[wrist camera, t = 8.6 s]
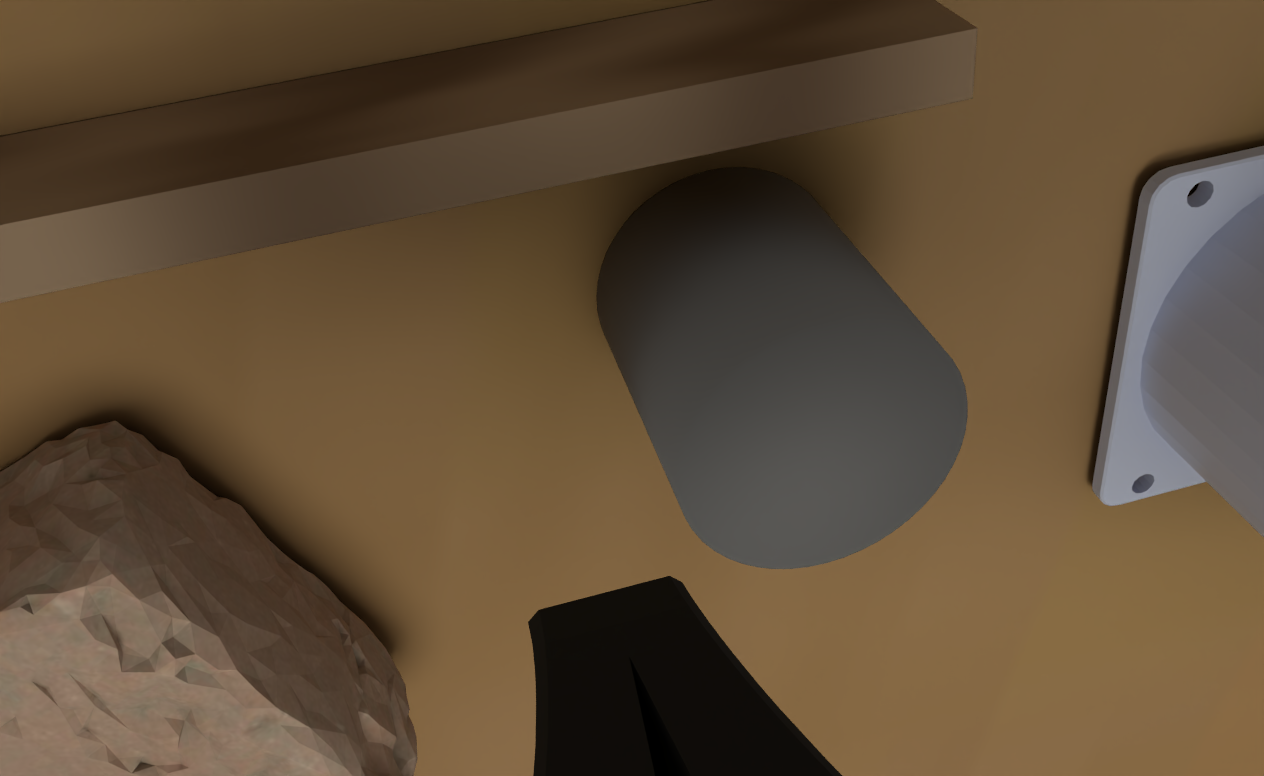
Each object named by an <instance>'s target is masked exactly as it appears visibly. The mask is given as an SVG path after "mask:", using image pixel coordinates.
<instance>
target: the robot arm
mask: <svg viewBox="0 0 1264 776" xmlns="http://www.w3.org/2000/svg"><path fill="white" fill-rule="evenodd" d="M1198 183H1199V185H1198V188H1197V190H1196V191H1195V192H1194V193H1193V194H1192V195H1190V196H1188V194H1189V192H1190V190H1191V189H1192V188H1193V187H1194V186H1195V185H1196V184H1198ZM1187 196H1188V197H1187ZM1203 482H1207V483H1208V484H1209V485H1210V486H1211V487H1213V488H1214V489H1215V490H1216V491H1217V492H1218V493H1219V494H1220V495H1221V496H1222V497H1223V498H1224V499H1225V500H1226V501H1227V502H1228V503H1229V504H1230V505H1231V506H1232V507H1233V508H1234V509H1235V510H1236V511H1237V512H1238V513H1239V514H1240V515H1241V516H1242V517H1243V518H1244V519H1245V520H1246V521H1247V522H1248V523H1249V524H1250V525H1251V526H1252V527H1253V528H1254V529H1255V530H1256V531H1257V532H1258V533H1259V534H1261V535H1262V536H1263V537H1264V146H1260V147H1256V148H1251V149H1247V150H1242V151H1238V152H1233V153H1229V154H1224V155H1220V156H1216V157H1211V158H1207V159H1202V160H1198V161H1193V162H1189V163H1184V164H1180V165H1175V166H1171V167H1167V168H1165V169H1163V170H1160V171H1158V172H1157V173H1156V174H1154V175H1153V176H1152V177H1151V178H1150V179H1149V180H1148V181H1147V183H1146V184H1145V185H1144V187H1143V189H1142V192H1141V195H1140V197H1139V203H1138V210H1137V216H1136V222H1135V228H1134V234H1133V240H1132V246H1131V252H1130V258H1129V264H1128V270H1127V276H1126V283H1125V289H1124V295H1123V301H1122V307H1121V313H1120V319H1119V325H1118V331H1117V337H1116V343H1115V350H1114V356H1113V362H1112V368H1111V374H1110V380H1109V386H1108V392H1107V398H1106V404H1105V410H1104V417H1103V423H1102V429H1101V435H1100V441H1099V447H1098V453H1097V459H1096V465H1095V471H1094V477H1093V484H1092V487H1093V492H1094V493H1095V494H1096V495H1097V497H1098V498H1099V499H1100V500H1101V501H1102V502H1103V503H1104V504H1106V505H1109V506H1113V505H1120V504H1124V503H1128V502H1132V501H1135V500H1139V499H1143V498H1147V497H1150V496H1154V495H1158V494H1162V493H1165V492H1169V491H1173V490H1177V489H1180V488H1184V487H1188V486H1192V485H1195V484H1199V483H1203ZM528 623H529V629H530V634H531V639H532V644H533V653H534V664H535V677H536V747H535V762H534V775H533V776H842V775H841V774H840V773H839V772H838V771H837V770H836V769H835V768H834V767H833V766H832V765H831V764H830V763H829V762H828V761H827V760H826V759H825V757H824V756H823V755H822V754H821V753H820V752H819V751H818V750H817V749H816V748H815V747H814V746H813V744H812V743H811V742H810V741H809V740H808V739H807V738H806V737H805V736H804V735H803V734H802V732H801V731H800V730H799V729H798V728H797V727H796V726H795V725H794V724H793V723H792V722H791V721H790V719H789V718H788V717H787V716H786V715H785V714H784V713H783V712H782V711H781V710H780V709H779V707H778V706H777V705H776V704H775V703H774V702H773V701H772V699H771V698H770V697H769V696H768V695H767V694H766V693H765V691H764V690H763V689H762V688H761V687H760V686H759V684H758V683H757V682H756V681H755V680H754V678H753V677H752V676H751V675H750V673H749V672H748V671H747V670H746V669H745V667H744V666H743V665H742V664H741V663H740V661H739V660H738V659H737V658H736V656H735V655H734V654H733V653H732V651H731V650H730V649H729V648H728V646H727V645H726V644H725V642H724V641H723V640H722V639H721V637H720V636H719V635H718V633H717V632H716V631H715V629H714V628H713V627H712V625H711V624H710V623H709V621H708V620H707V619H706V617H705V616H704V614H703V613H702V612H701V610H700V609H699V607H698V606H697V604H696V603H695V602H694V600H693V599H692V597H691V596H690V594H689V592H688V591H687V589H686V588H685V586H684V584H683V583H682V582H681V581H679V580H677V579H675V578H673V577H671V576H667V577H663V578H659V579H656V580H652V581H648V582H644V583H640V584H636V585H633V586H629V587H625V588H621V589H617V590H613V591H610V592H606V593H602V594H598V595H594V596H590V597H587V598H583V599H579V600H575V601H571V602H567V603H564V604H560V605H556V606H552V607H548V608H544V609H541V610H538V611H537V613H536V614H535V615H534V616H533V617H532V618H531V620H530V621H529V622H528Z"/></svg>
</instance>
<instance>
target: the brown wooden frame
mask: <svg viewBox="0 0 1264 776" xmlns="http://www.w3.org/2000/svg"><path fill="white" fill-rule="evenodd" d="M976 42H977V28H976V27H975V26H973V25H972V24H970V23H969V22H967V21H966V20H964V19H963V18H961V17H960V16H958V15H957V14H955V13H954V12H952V11H950V10H949V9H947V8H946V7H944V6H943V5H941V4H940V3H938V2H937V1H935V0H711V1H706V2H701V3H696V4H691V5H685V6H680V7H675V8H670V9H664V10H659V11H654V12H649V13H644V14H638V15H633V16H628V17H623V18H617V19H612V20H607V21H602V22H597V23H591V24H586V25H581V26H576V27H571V28H565V29H560V30H555V31H550V32H544V33H539V34H534V35H529V36H524V37H518V38H513V39H508V40H503V41H497V42H492V43H487V44H482V45H477V46H471V47H466V48H461V49H456V50H450V51H445V52H440V53H435V54H430V55H424V56H419V57H414V58H409V59H403V60H398V61H393V62H388V63H383V64H377V65H372V66H367V67H362V68H356V69H351V70H346V71H341V72H336V73H330V74H325V75H320V76H315V77H309V78H304V79H299V80H294V81H289V82H283V83H278V84H273V85H268V86H262V87H257V88H252V89H247V90H242V91H236V92H231V93H226V94H221V95H215V96H210V97H205V98H200V99H195V100H189V101H184V102H179V103H174V104H168V105H163V106H158V107H153V108H148V109H142V110H137V111H132V112H127V113H122V114H116V115H111V116H106V117H101V118H95V119H90V120H85V121H80V122H75V123H69V124H64V125H59V126H54V127H48V128H43V129H38V130H33V131H28V132H22V133H17V134H12V135H7V136H1V137H0V303H2V302H7V301H12V300H17V299H21V298H26V297H31V296H36V295H41V294H45V293H50V292H55V291H60V290H64V289H69V288H74V287H79V286H83V285H88V284H93V283H98V282H102V281H107V280H112V279H117V278H121V277H126V276H131V275H136V274H140V273H145V272H150V271H155V270H159V269H164V268H169V267H174V266H178V265H183V264H188V263H193V262H197V261H202V260H207V259H212V258H216V257H221V256H226V255H231V254H235V253H240V252H245V251H250V250H255V249H259V248H264V247H269V246H274V245H278V244H283V243H288V242H293V241H297V240H302V239H307V238H312V237H316V236H321V235H326V234H331V233H335V232H340V231H345V230H350V229H354V228H359V227H364V226H369V225H373V224H378V223H383V222H388V221H392V220H397V219H402V218H407V217H411V216H416V215H421V214H426V213H430V212H435V211H440V210H445V209H449V208H454V207H459V206H464V205H469V204H473V203H478V202H483V201H488V200H492V199H497V198H502V197H507V196H511V195H516V194H521V193H526V192H530V191H535V190H540V189H545V188H549V187H554V186H559V185H564V184H568V183H573V182H578V181H583V180H587V179H592V178H597V177H602V176H606V175H611V174H616V173H621V172H625V171H630V170H635V169H640V168H644V167H649V166H654V165H659V164H664V163H668V162H673V161H678V160H683V159H687V158H692V157H697V156H702V155H706V154H711V153H716V152H721V151H725V150H730V149H735V148H740V147H744V146H749V145H754V144H759V143H763V142H768V141H773V140H778V139H782V138H787V137H792V136H797V135H801V134H806V133H811V132H816V131H820V130H825V129H830V128H835V127H839V126H844V125H849V124H854V123H858V122H863V121H868V120H873V119H878V118H882V117H887V116H892V115H897V114H901V113H906V112H911V111H916V110H920V109H925V108H930V107H935V106H939V105H944V104H949V103H954V102H958V101H963V100H968V99H973V86H974V71H975V57H976Z"/></svg>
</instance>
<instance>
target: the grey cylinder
mask: <svg viewBox="0 0 1264 776" xmlns="http://www.w3.org/2000/svg"><path fill="white" fill-rule="evenodd" d="M597 311H598V315H599V320H600V324H601V327H602V330H603V332H604V335H605V337H606V339H607V342H608V344H609V346H610V348H611V351H612V353H613V355H614V358H615V360H616V362H617V364H618V367H619V369H620V371H621V373H622V376H623V378H624V380H625V382H626V385H627V387H628V389H629V392H630V394H631V396H632V398H633V401H634V403H635V405H636V407H637V410H638V412H639V414H640V416H641V419H642V421H643V423H644V426H645V428H646V430H647V432H648V435H649V437H650V439H651V441H652V444H653V446H654V448H655V450H656V453H657V455H658V457H659V460H660V462H661V464H662V466H663V469H664V471H665V473H666V475H667V478H668V480H669V482H670V484H671V487H672V489H673V491H674V494H675V496H676V498H677V500H678V503H679V505H680V507H681V509H682V512H683V514H684V516H685V518H686V520H687V522H688V523H689V525H690V527H691V528H692V530H693V531H694V532H695V533H696V535H697V536H698V537H699V538H700V539H701V540H702V541H703V542H704V543H705V544H706V545H708V546H709V547H710V548H711V549H713V550H714V551H716V552H717V553H719V554H721V555H723V556H725V557H726V558H729V559H731V560H734V561H737V562H739V563H742V564H746V565H750V566H755V567H761V568H770V569H793V568H802V567H810V566H814V565H819V564H824V563H828V562H831V561H834V560H837V559H840V558H844V557H846V556H848V555H851V554H853V553H856V552H858V551H860V550H862V549H864V548H866V547H868V546H870V545H872V544H874V543H876V542H878V541H879V540H881V539H882V538H884V537H886V536H887V535H889V534H890V533H892V532H893V531H895V530H896V529H897V528H899V527H900V526H901V525H902V524H904V523H905V522H906V521H908V520H909V519H910V518H911V517H912V516H913V515H914V514H915V513H916V512H917V511H919V510H920V509H921V508H922V507H923V506H924V504H925V503H926V502H927V501H928V500H929V499H930V498H931V497H932V496H933V494H934V493H935V492H936V491H937V489H938V488H939V486H940V485H941V484H942V482H943V481H944V480H945V478H946V476H947V475H948V473H949V471H950V469H951V468H952V466H953V464H954V462H955V460H956V457H957V455H958V453H959V451H960V448H961V445H962V441H963V438H964V435H965V430H966V423H967V396H966V390H965V385H964V382H963V379H962V377H961V374H960V372H959V370H958V368H957V366H956V365H955V363H954V361H953V359H952V358H951V357H950V356H949V355H948V354H947V352H946V351H945V350H944V349H943V348H942V347H941V345H940V344H939V343H938V342H937V341H936V340H935V338H934V337H933V336H932V335H931V334H930V333H929V332H928V330H927V329H926V328H925V327H924V326H923V325H922V323H921V322H920V321H919V320H918V319H917V318H916V316H915V315H914V314H913V313H912V312H911V311H910V309H909V308H908V307H907V306H906V305H905V304H904V303H903V301H902V300H901V299H900V298H899V297H898V296H897V294H896V293H895V292H894V291H893V290H892V289H891V287H890V286H889V285H888V284H887V283H886V282H885V281H884V279H883V278H882V277H881V276H880V275H879V274H878V272H877V271H876V270H875V269H874V268H873V267H872V265H871V264H870V263H869V262H868V261H867V260H866V259H865V257H864V256H863V255H862V254H861V253H860V252H859V250H858V249H857V248H856V247H855V246H854V245H853V243H852V242H851V241H850V240H849V239H848V238H847V236H846V235H845V234H844V233H843V232H842V231H841V230H840V228H839V227H838V226H837V225H836V224H835V223H834V221H833V220H832V219H831V218H830V217H829V216H828V214H827V213H826V212H825V211H824V210H823V209H822V208H821V206H820V205H819V204H818V203H817V202H816V201H815V199H814V198H813V197H812V196H811V195H810V194H809V193H808V192H807V191H805V190H804V189H803V188H802V187H801V186H799V185H798V184H796V183H794V182H793V181H791V180H789V179H788V178H785V177H783V176H781V175H778V174H776V173H773V172H769V171H765V170H761V169H755V168H745V167H733V168H721V169H714V170H709V171H705V172H702V173H698V174H694V175H692V176H689V177H687V178H684V179H682V180H679V181H677V182H675V183H673V184H672V185H670V186H668V187H666V188H664V189H663V190H661V191H660V192H658V193H657V194H655V195H654V196H653V197H651V198H650V199H648V200H647V201H646V202H645V203H644V204H643V205H642V206H640V207H639V208H638V209H637V210H636V211H635V212H634V213H633V214H632V215H631V216H630V218H629V219H628V220H627V221H626V222H625V223H624V224H623V226H622V227H621V229H620V230H619V232H618V233H617V235H616V236H615V237H614V239H613V241H612V243H611V245H610V247H609V249H608V251H607V253H606V255H605V258H604V261H603V263H602V266H601V270H600V274H599V279H598V285H597Z"/></svg>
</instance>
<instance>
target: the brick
mask: <svg viewBox="0 0 1264 776" xmlns="http://www.w3.org/2000/svg"><path fill="white" fill-rule="evenodd" d="M409 710H410V709H409V705H408V700H407V696H406V687H405V683H404V681H403V679H402V677H401V675H400V673H399V671H398V670H397V668H396V666H395V664H394V662H393V660H392V659H391V657H390V655H389V653H388V652H387V650H386V648H385V647H384V646H383V644H382V643H381V642H380V641H379V640H378V638H377V637H376V636H375V635H374V634H373V632H372V631H371V630H370V629H369V628H368V626H367V625H366V624H365V623H364V622H363V621H362V620H361V619H360V618H359V617H357V616H356V615H355V614H354V613H353V612H352V611H351V610H349V609H348V608H347V607H346V606H345V605H344V604H343V603H341V602H340V601H339V600H338V598H337V597H336V596H335V595H334V594H333V593H332V591H331V590H330V589H329V588H328V587H327V586H326V585H325V584H324V583H323V582H322V581H321V580H319V579H318V578H317V577H316V576H315V575H314V574H312V573H310V572H308V571H306V570H305V569H303V568H302V567H301V566H299V565H298V564H296V563H295V562H294V561H293V560H291V559H290V558H289V557H287V556H286V555H285V554H284V553H283V552H282V551H281V550H279V549H278V548H277V547H276V546H275V545H274V544H273V543H272V542H271V541H270V540H269V539H268V538H267V537H266V536H265V535H264V534H263V532H262V531H261V530H260V529H259V527H258V526H257V525H256V524H255V522H254V521H253V520H252V519H251V517H250V516H249V515H248V513H247V512H246V511H245V510H244V508H243V507H242V506H241V505H239V504H237V503H235V502H233V501H231V500H229V499H227V498H222V497H217V496H215V495H214V494H213V493H211V492H210V491H209V490H207V489H206V488H205V487H203V486H202V485H201V484H199V483H198V482H197V481H195V480H194V479H193V478H191V477H190V476H189V474H188V473H187V471H186V470H185V469H184V467H183V466H182V464H181V463H180V461H179V460H178V459H177V458H174V457H172V456H170V455H168V454H165V453H163V452H160V451H158V450H157V449H156V448H155V447H154V446H153V445H152V444H151V443H150V442H149V441H148V440H147V439H146V438H145V437H144V436H143V435H141V434H138V433H136V432H133V431H130V430H127V429H126V428H125V427H123V426H122V425H121V424H119V423H118V422H117V421H112V422H108V423H104V424H100V425H94V426H89V427H83V428H78V429H77V430H75V431H74V432H72V433H71V434H69V435H68V436H66V437H65V438H63V439H62V440H55V441H46V442H45V443H44V444H42V445H41V446H39V447H38V448H37V449H35V450H34V451H32V452H31V453H30V454H28V455H27V456H25V457H24V458H22V459H21V460H19V461H18V462H16V463H14V464H13V465H11V466H9V467H8V468H6V469H5V470H3V471H1V472H0V776H413V775H414V771H415V767H416V763H417V740H416V734H415V730H414V726H413V724H412V722H411V720H410V717H409V715H408V713H409Z"/></svg>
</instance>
